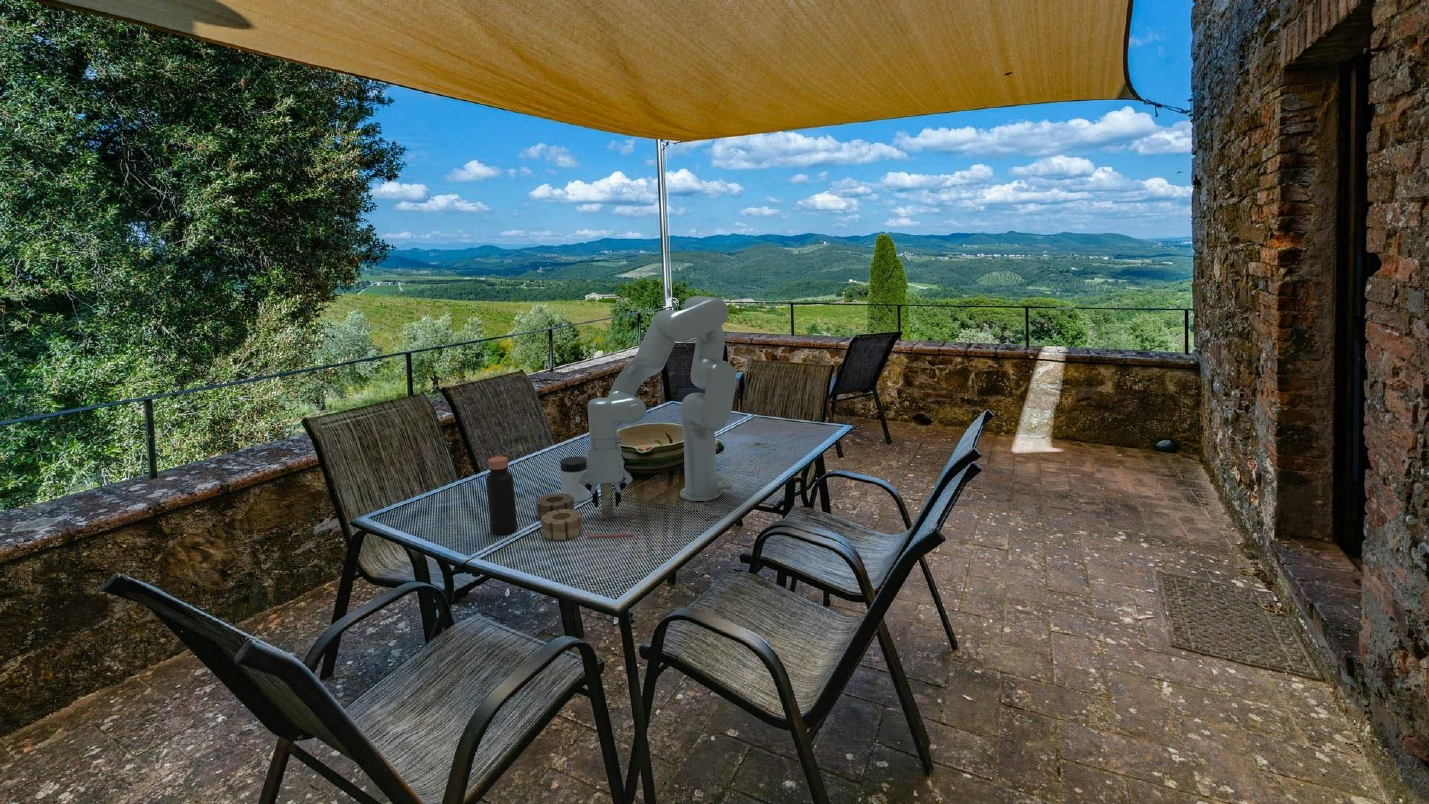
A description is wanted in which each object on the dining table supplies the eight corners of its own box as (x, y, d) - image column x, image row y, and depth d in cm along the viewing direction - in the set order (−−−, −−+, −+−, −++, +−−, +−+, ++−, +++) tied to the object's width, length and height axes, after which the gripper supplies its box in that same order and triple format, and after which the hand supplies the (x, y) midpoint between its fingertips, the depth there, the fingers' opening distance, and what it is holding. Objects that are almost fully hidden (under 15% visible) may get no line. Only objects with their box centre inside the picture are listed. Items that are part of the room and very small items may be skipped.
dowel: (614, 513, 186) (611, 473, 183) (613, 518, 183) (610, 477, 180) (602, 514, 185) (600, 474, 183) (601, 518, 182) (599, 477, 180)
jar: (567, 505, 193) (564, 466, 191) (557, 497, 200) (554, 459, 197) (595, 498, 198) (593, 460, 195) (584, 491, 205) (582, 454, 202)
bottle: (492, 537, 171) (485, 464, 167) (489, 528, 177) (483, 457, 173) (519, 532, 174) (512, 460, 170) (515, 523, 180) (509, 454, 176)
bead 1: (568, 505, 193) (567, 491, 192) (577, 517, 184) (576, 501, 183) (534, 511, 188) (533, 497, 187) (541, 523, 179) (540, 508, 178)
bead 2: (584, 523, 179) (583, 508, 178) (579, 539, 169) (578, 522, 168) (547, 525, 178) (545, 510, 177) (540, 540, 168) (538, 524, 167)
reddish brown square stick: (633, 535, 171) (633, 533, 171) (633, 536, 170) (633, 534, 170) (587, 537, 170) (587, 535, 170) (587, 538, 169) (586, 536, 169)
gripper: (635, 438, 184) (638, 499, 187) (574, 440, 183) (578, 501, 186) (634, 445, 176) (637, 508, 180) (570, 447, 175) (574, 511, 179)
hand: (607, 504), depth 183 cm, fingers open, 5 cm apart
